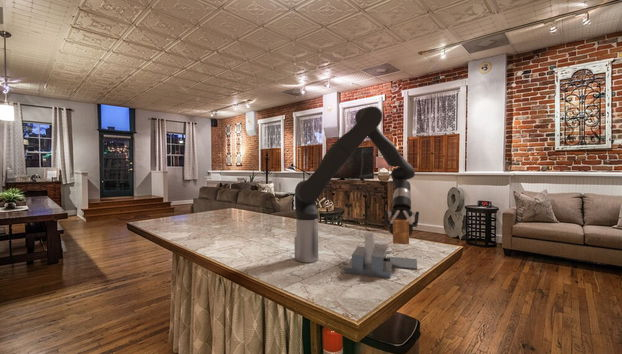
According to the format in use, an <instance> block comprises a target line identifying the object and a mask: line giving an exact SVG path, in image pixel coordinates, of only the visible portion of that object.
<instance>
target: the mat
mask: <svg viewBox="0 0 622 354" xmlns="http://www.w3.org/2000/svg"><path fill="white" fill-rule="evenodd" d="M386 258H390V262H393V268H395V269H396V268H397V269H403V270H405V269H406V270H415V271H418V259H417V258H410V257H409V258H408V257H401V256H400V257H398V256H387V255H386ZM386 262H387V261H386Z"/></svg>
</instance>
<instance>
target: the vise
mask: <svg viewBox="0 0 622 354" xmlns="http://www.w3.org/2000/svg"><path fill="white" fill-rule="evenodd" d="M374 241H375V232H371V231H366V232H365V233H364V246H360V245H359V246H357V247H356V248H355V250H354V251H353V252H352V253H351V258H350V259H349V262H347V264H346V266H345V267H344V273H345V274H351V275H357V276H358V275H359V276H367V277H368V276H370V277H377V278H387V279H391V277H392V273H393V268H394V267H393V262H390V258H387V254H386V249H384V248H375V250H374ZM386 261H387V262H386Z"/></svg>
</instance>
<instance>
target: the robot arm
mask: <svg viewBox="0 0 622 354" xmlns="http://www.w3.org/2000/svg"><path fill="white" fill-rule="evenodd" d="M354 118H355V119H354V120H355V123H356V124H354V126H353V127H352V128H351V129H349V130H347V132H345V134H343V135H342V136H340V137H339V138H338V139H337V140H336V141H335V142H334V143H333V144H332V145H331V146H330V148H328V150H327V151H326V152H325V154H324V156H323V158H322V159H321V161H320V164H319V165H318V167H317V168H316V170H315V171H314V172H313V173H312V174H311V175H310V176H309V177H307V179H306V180H302V181H299V182H298V183H297V184H296V186H295V189H294V209H295V210H294V211H295V216H296V217H295V218H296V219H295V220H296V221H295V222H296V224H295V225H296V229H295V230H296V233H295V234H296V236H294V238H293V239H294V241H293V243H294V260H296V261H298V262H300V263H314V262H318V260H319V211H318V208H317V201H318V199H319V198H320V196H321V194H323V192H324V191H325V189H326V187H327V185H328V184H329V183H330V181H331V180H332V179H333V178H334V177H335V176H336V175H337V174H338V172H340V170H341V169H342V168H343V167H344V165H346V163H347V162H348V161H349V160H350V159H351V157H352V155H353V154H355V152H356V151H357V150H358V149H359V147H360V146H361V144H362V143H364V141H365V139H367V137H368V139H370V142H372V143H373V144H374V146H375V148H376V149H377V150H378V152H379V153H380V155H381V156H382V158H383V159H384V161H385V162H386V164H387V165H388V167H395V168H393V169H392V171H391V173H390V177H391V179H392V183H393V195H392V208H391V210H390V211H388V210H384V218H385V225H386V226H389V233H390V234H391V235H393V219H396V218H397V219H407V220H409V236H412V235H413V230H414V229H413V228H417V227H418V225H419V224H418V223H419V219H420V211H416V212H414V211H413V210H412V195H411V183H410V182H409V180H411V179H413V178H414V177H415V175H416V172H415V168H414V167H413V166H412V164H411V163H409V161H408V160H406V159H405V158H404V157H403V156H402V155H401V153H400V152H399V150H398V149H397V147H396V146H395V144H394V143H393V142H392V141H391V140H390V139H389V138H388V137H386V136H385V134H384V133H382V131H381V130H380V129H379V127H378V126H380V124H381V122H382V119H383V112H382V110H381V108H379V107H378V106H372V105H371V106H370V105H369V106H366V107H363V108H361V109H358V110H357V112H356V113H355V117H354ZM391 216H392V218H391V220H389V218H390V217H391ZM411 217H413V218H414V221H412V219H411Z"/></svg>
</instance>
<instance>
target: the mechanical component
mask: <svg viewBox="0 0 622 354" xmlns="http://www.w3.org/2000/svg"><path fill="white" fill-rule="evenodd" d="M375 248H384V249H386V255H387V254H391V253H392V250H393V249H392V247H390V242H388V241H386V240H374V250H375Z"/></svg>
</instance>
